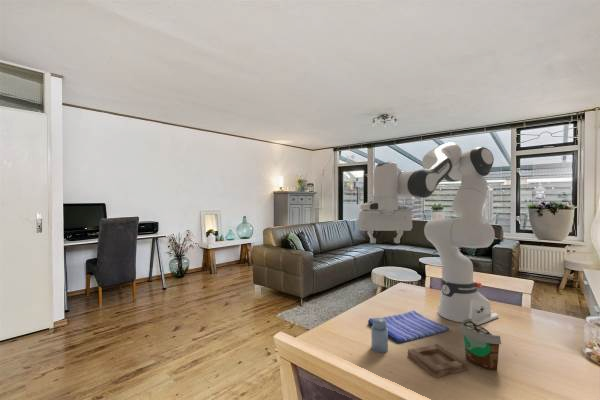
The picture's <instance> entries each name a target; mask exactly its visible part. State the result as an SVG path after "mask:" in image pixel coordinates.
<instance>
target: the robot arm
mask: <svg viewBox="0 0 600 400" xmlns="http://www.w3.org/2000/svg"><path fill="white" fill-rule="evenodd" d="M494 159H495V158H494V155H493V153H492V151H491V150H490V149H488V148H487V147H485V146H477V147H474V148H472V149H469V150H466V151H464V152H462V149H461V147H460V146H459V145H458V144H457V143H456V142H455V143H454V142H446V143H443V144H440V145H437V146H436V147H433V148H432V149H430V150H429V151H428V152H426V153H425V155H424V156H423V157H422V160H421V164H422V169H419V170H412V171H403V170H401V169H400V168H399V167H398V165H397V162H396V161H388V162H382V163H381V162H380V163H377V164H376V165H375V167H374V171H373V178H372V179H373V181H372V184H373V185H372V186H373V195H372V200H371V201H368V202H365V203H361V204H360V210H361V211H360V212H358V213H359V214H358V219H357V228H358V229H359V230H360V231H364V232H366V233H367V235H368V237H369V243H370V244H376V243H377V238H375V237H374V236H373V234H374V231H377V232H380V231H381V232H382V231H383V232H384V231H386V232H389V231H391V232H392V231H394V232H396V234H397V235H396V237H393V243H395V244H400V243H401V238H402V236H403V234H404V231H405V232H406V231H409V232H410V231H411V230H412V229H413V218H412V209H411V208H410V207H409V206H408V205H399V198H424V199H426V198H429V197H430V196H432V194H433V193H434V191H435V190H436V188H437V187H438V185H439V184H441V182H442V181H443V180H446V181H447V182H449V183H450V182H451V183H452V182H453V183H454V182H458V181H460V183H461V184H460V185H459V187H458V189H457V191H456V193H455V196H454V199H453V201H452V204H451V210H452V212H453V214H454V215H455V216H456V217H457V218H449V217H448V218H445V217H444V218H443V217H439V218H431V219H429V220H428V221H426V223H425V225H424V228H423V232H424V236H425V238H426V240H427V241H428V242H429V243H431V244H432V246H433V247H434V248H435V249H436V250H437V253H438V256H439V258H440V262H441V278H440V289H441V291H440V298H439V304H438V310H437V313H438V315H439V316H440V317H442V318H443V319H447V320H450V321H452V322H456V323H457V322H458V323H463V321H464V320H466V319H472V322H473V323H474V324H476V325H478V326H480V325H482V324H484V323H487V322H490V321H493V320H495V319H497V318H498V319H499V315H498V313H497V312H495V311H493V310H492V308H491V303H490V300H489V299H487V298H486V297H485V296H484V295H483V294H482V293H480V292H479V291H478V289H477V288H479V289H481V288H482V287H483V285H482V283H481V282H478V281H475V282H474V264H473V262H472V260H471V259H470V258H469V257H467V256H465V255H464V254H463V253H462V252H461V251H460V248H459V247H461V248H469V249H481V248H482V249H483V248H488V247H490V246H491V245H492V243H494V240H495V238H496V234H495V233H496V232H495V229H494V228H493V225H491V223H489V222H488V221H486V220H485V219H484V218H483V215H482V213H483V207H484V204H485V202H486V199H487V198H486V197H487V194H488V185H489V184H488V182H487V179H486V178H485V176H488V175H489V174H490V173H491V169H492V168H493V164H494V162H495V161H494Z"/></svg>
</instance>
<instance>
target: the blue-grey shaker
mask: <svg viewBox="0 0 600 400" xmlns="http://www.w3.org/2000/svg"><path fill="white" fill-rule="evenodd" d="M373 318H374V319H373V326H371V328H370V329H371V350H372V351H373V352H375V353H381V354H384V353H387V352H388V351H389V337H388V328H387V327H386V320H385V319H383V317H373Z"/></svg>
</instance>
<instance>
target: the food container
mask: <svg viewBox="0 0 600 400" xmlns="http://www.w3.org/2000/svg"><path fill="white" fill-rule="evenodd" d="M460 332H461V333H462V335H463V340H464V341H463V343H464V354H465V359H466V362H468V363H470V364H471V365H473V366H475V367H477V368H479V369H484V370H487V371H488V370H489V371H498V366H499V365H498V364H499V363H498V362H499V352H500V351H499V349H500V345H501V344H502V340H501V336H500V335H495V334H492V333H491V332H490V331H488V330H487V329H486V328H484V327H482V326H480V325H476V324H474V323H473V322H472V319H466V320H464V321H463V322H461V326H460Z"/></svg>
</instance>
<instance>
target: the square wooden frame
mask: <svg viewBox="0 0 600 400" xmlns="http://www.w3.org/2000/svg"><path fill="white" fill-rule="evenodd" d="M407 357H409V358H410V359H411V360H412V361H413V362H415V363H416V364H418V365H419V366H420V367H421V368H422V369H424V370H425V371H427V372H428V373H429V374H430V375H432V376H433V377H434V378H438V377H444V376H446V375H451V374H454V373H455V374H456V373H460V372H464V371H467V370H469V368H468V364H469V362H468V361H465V360H463V359H462V358H460V357H458V356H457V355H456V354H454V353H453V352H451V351H449V350H448V349H446V348H445V347H443V346H441V345H440V344H439V343H437V344H431V345H426V346H422V347H416V348H411V349H408V350H407Z"/></svg>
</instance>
